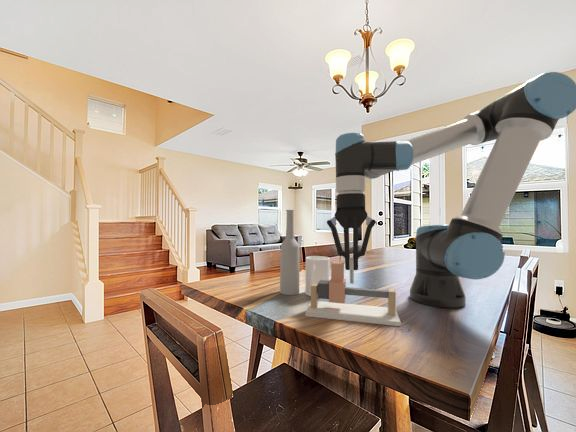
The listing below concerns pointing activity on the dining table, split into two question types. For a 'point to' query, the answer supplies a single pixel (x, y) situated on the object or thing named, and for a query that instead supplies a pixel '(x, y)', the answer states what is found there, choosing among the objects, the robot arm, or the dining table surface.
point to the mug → (316, 271)
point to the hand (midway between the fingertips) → (351, 282)
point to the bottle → (289, 260)
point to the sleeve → (337, 283)
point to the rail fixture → (353, 306)
